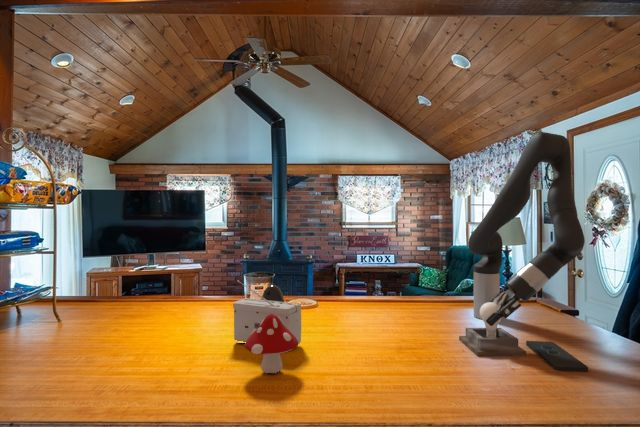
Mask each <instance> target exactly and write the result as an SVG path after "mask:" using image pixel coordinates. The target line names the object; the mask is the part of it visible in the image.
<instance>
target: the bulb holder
mask: <svg viewBox="0 0 640 427" xmlns="http://www.w3.org/2000/svg"><path fill="white" fill-rule="evenodd" d="M486 332H487V330H486V327H465V335H458V336H459V337H458V340H459V341H460V342H461V343H462V344H463V345H464V346H465V347H466V348H468V349H469V350H470V351H471V352H472V353H473V354H474V355H475V356H476V357H497V356H498V357H507V356H509V357H510V356H513V357H517V356H518V357H519V356H520V357H521V356H522V357H523V356H524V357H525V356H527V350H525V349H524V348H522V347H520V346H519V338H517V337H516V336H514V335H512V334H511V333H510V332H508V331H507V330H504V329H503V328H501V327H497V329H496V338H488V337H487V336H486V335H487V333H486Z"/></svg>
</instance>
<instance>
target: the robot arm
mask: <svg viewBox="0 0 640 427" xmlns="http://www.w3.org/2000/svg"><path fill="white" fill-rule="evenodd" d="M571 155H572V154H571V146H570V142H569V140H568V138H567V137H566V136H564V135H561V134H557V133H552V132H545V131H540V132H536V133H534V134H533V135H531V137H530V138H529V139H528V141H527V143H526V145H525V147H524V149H523V151H522V153H521V155H520V157H519V159H518V161H517V163H516V165H515V167H514V170H513V171H512V172H511V174H510V176H509V177H508V179H507V181H506V183H504V186H503V187H502V188H501V190H500V191H499V194H498V195H497V197H495V200H494V202H493V204H492V205H491V207H490V208H489V210H488V211H487V213H486V214H485V216H484V217H483V218H482V220H481V221H480V222H479V224H478V225H477V226H476V228H475V229H474V230H473V232H472V233H471V235H470V236H469V239H468V249H469V251H470V252H471V254H473V255H477V256H482V257H481V259H480V260H479V261H478V262H476V263H474V264H473V317H475V318H476V319H479V320H482V318H481V316H480V308H481V306H482V305H483V304H485V303H487V302H493V303H496V304H497V305H498V308H497V310H496V311H495V312H496V313H495V312H494V313H493V314H492V315H491V316H489V317H488V318H487V319H486V322H487V323H488V324H489V325H490V326H493V325H494V324H495V323H496V322H497V321H498V320H499V319H500V318H502V319H507V318H508V317H510V316H512V314H514V312H516V311H517V310H518V309H519V308H521V306H522V304H521V303H520V300H522V301H523V302H527V303H528V301H530V299H531V298H533V296H535V294H537V293H538V292H540V291H541V289H543V287H544V286H545V285H546V284H547V283H548V282H549V281H550V280H551V279H552V278H553V277H554V276H555V275H556V274H557V273H558V272H559V271H560V270H561V269H562V268H563V267H564V266H566V265H568V264H569V263H570V262H571V261H573V260H574V259H575V258H576V257H578V256H579V255H580V254H581V253H582V251H583V249H584V247H585V243H586V242H585V241H586V240H585V235H584V232H583V228H582V225H581V223H580V220H579V218H578V211H577V207H576V202H575V197H574V193H573V184H572V159H571V157H572V156H571ZM540 163H546V164H549V165H550V167H551V170H552V181H551V184H550V185H549V188H548V192H547V196H546V202H547V203H546V204H547V208H548V214H549V218H550V221H551V223H552V225H553V230H554V237H555V238H554V239H555V240H554V242H553V243H552V244H551V245H550V246H549V247H547V249H545V251H540V252H539V253H538V254H537V255H535V256H534V257H533V258H531V260H530V261H529V262H528V263H526V264H525V265H524V266H523V267H521V268H520V269H519V270H518V271H517V272H516V273H515V274H514V275H512V276H511V277H510V278H509V279H508V280H507V281H506V282H505V286H507V288H508V289H506V290H505V291H504V290H503V289H500V288H501V287H500V282H501V281H500V269H501V266H502V264H503V263H502V262H503V239H502V236H501V234H500V233H499V232H498V231H499V230H500V229H501V228H502V227H503V226H505V225H506V224H508V223H509V222H511V221H512V220H514V219H515V218H516V217H517V216H518V215H519V214H520V213H521V212H522V211H523V209H524V208H525V206H526V205H527V203H528V201H529V200H530V198H531V192H532V191H531V190H532V189H531V178H532V175H533V173H534V171H535V169H536V168H537V166H538V165H539V164H540Z"/></svg>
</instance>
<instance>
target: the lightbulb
mask: <svg viewBox="0 0 640 427" xmlns="http://www.w3.org/2000/svg"><path fill="white" fill-rule="evenodd" d="M497 308H498V305H497V304H496V303H493V302H487V303H485V304H483V305H482V306H481V308H480V316H481V318H482V319H481V320H482V321H483V323H484V328H486V330H487V332H486V333H487V335H486V336H487V337H488V338H496V329H497V328H498V326H499V323H500V322H501V320H502V319H503V318H500V319H499V320H498V321H497V322H496V323H495V324H494V325H493V326H490V325H489V324H488V323H487V322H486V319H487V318H488V317H489V316H491V315H492V314H493V313H494V312H495V311H496V310H497ZM495 313H496V312H495Z"/></svg>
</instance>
